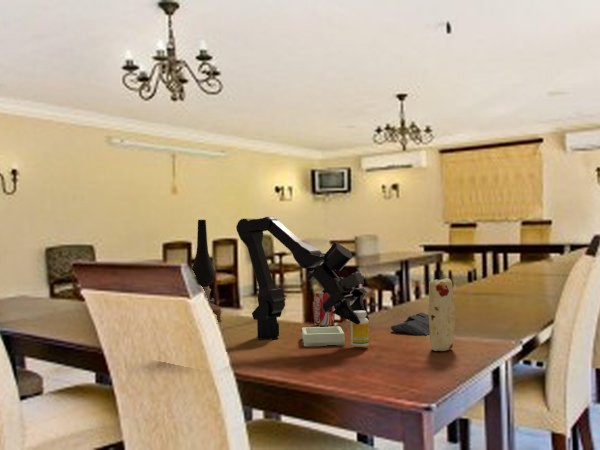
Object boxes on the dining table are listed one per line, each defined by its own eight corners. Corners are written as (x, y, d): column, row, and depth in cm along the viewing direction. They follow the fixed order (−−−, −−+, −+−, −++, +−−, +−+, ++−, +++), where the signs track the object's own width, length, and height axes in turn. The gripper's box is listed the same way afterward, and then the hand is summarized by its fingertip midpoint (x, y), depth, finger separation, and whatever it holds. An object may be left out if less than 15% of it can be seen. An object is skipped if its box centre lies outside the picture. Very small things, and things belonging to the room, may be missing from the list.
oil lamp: (205, 335, 199) (210, 228, 192) (174, 325, 207) (177, 221, 200) (228, 324, 211) (234, 223, 204) (198, 315, 219) (203, 217, 211)
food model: (447, 354, 146) (445, 280, 146) (423, 352, 150) (422, 279, 150) (459, 348, 154) (458, 277, 154) (437, 345, 157) (435, 276, 158)
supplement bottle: (346, 343, 158) (346, 310, 158) (362, 342, 160) (362, 309, 160) (356, 347, 153) (356, 313, 153) (372, 345, 155) (372, 311, 156)
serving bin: (304, 346, 160) (303, 334, 160) (302, 338, 172) (302, 327, 172) (344, 345, 160) (344, 333, 160) (340, 337, 172) (339, 326, 172)
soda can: (332, 327, 191) (331, 293, 191) (312, 327, 193) (312, 293, 193) (335, 324, 198) (334, 291, 198) (316, 323, 199) (315, 290, 200)
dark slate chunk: (382, 333, 180) (382, 319, 180) (409, 324, 198) (409, 310, 198) (427, 338, 171) (426, 323, 171) (450, 327, 189) (450, 313, 189)
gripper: (331, 265, 151) (367, 307, 145) (360, 261, 167) (394, 299, 161) (307, 291, 155) (341, 334, 149) (338, 285, 171) (370, 324, 165)
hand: (363, 322), depth 156 cm, fingers closed on supplement bottle, 5 cm apart
